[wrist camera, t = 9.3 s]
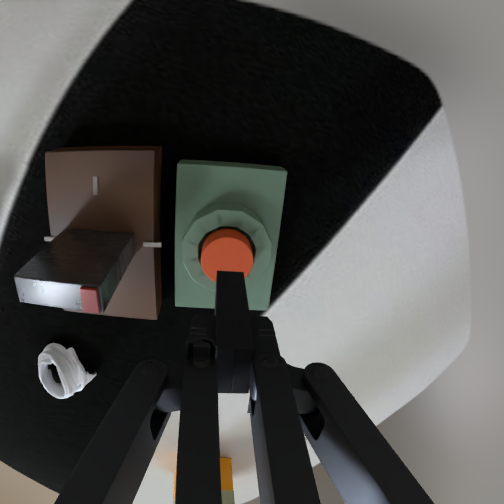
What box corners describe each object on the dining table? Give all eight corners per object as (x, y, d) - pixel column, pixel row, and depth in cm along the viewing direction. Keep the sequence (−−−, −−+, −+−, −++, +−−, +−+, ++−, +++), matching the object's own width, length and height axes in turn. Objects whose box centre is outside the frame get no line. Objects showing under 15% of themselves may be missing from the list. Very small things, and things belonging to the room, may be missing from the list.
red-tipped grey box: (66, 249, 23) (17, 303, 16) (64, 228, 22) (11, 277, 15) (135, 254, 24) (102, 316, 16) (134, 232, 23) (98, 288, 16)
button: (203, 226, 23) (201, 235, 21) (253, 229, 23) (256, 238, 22) (201, 272, 24) (200, 283, 23) (248, 274, 25) (250, 285, 23)
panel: (55, 147, 22) (37, 153, 20) (170, 146, 24) (163, 150, 21) (70, 293, 28) (57, 310, 25) (168, 301, 29) (163, 321, 26)
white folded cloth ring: (72, 385, 34) (62, 415, 30) (31, 354, 31) (18, 384, 27) (106, 366, 32) (97, 400, 28) (61, 330, 29) (46, 364, 25)
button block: (180, 159, 24) (173, 167, 21) (282, 166, 25) (292, 175, 22) (177, 293, 29) (172, 318, 25) (265, 297, 30) (271, 322, 26)
